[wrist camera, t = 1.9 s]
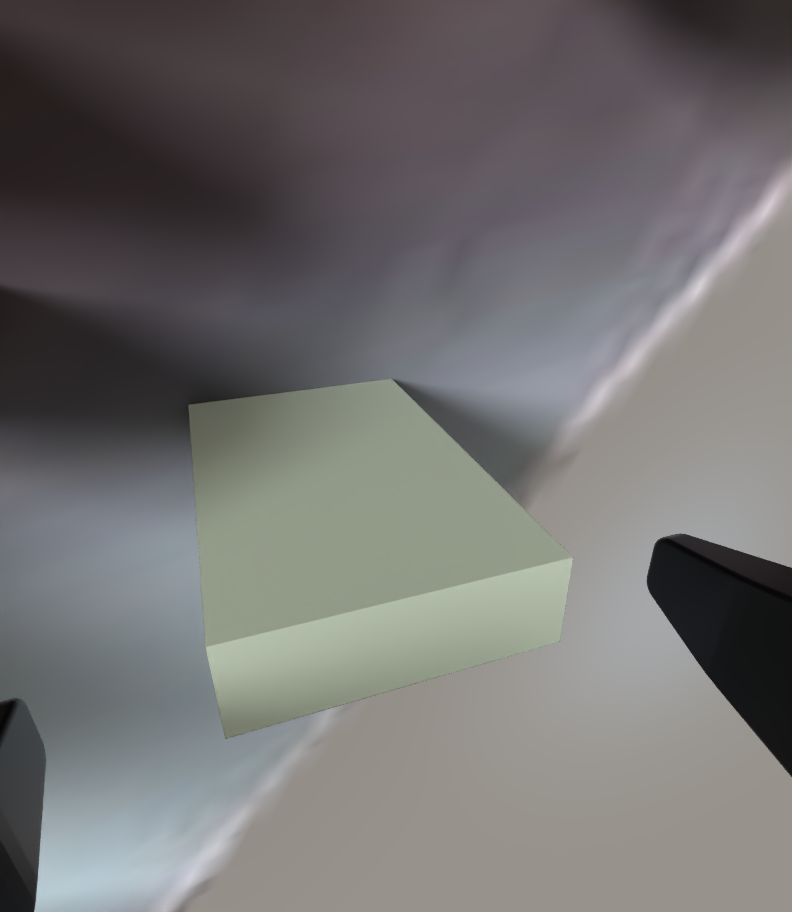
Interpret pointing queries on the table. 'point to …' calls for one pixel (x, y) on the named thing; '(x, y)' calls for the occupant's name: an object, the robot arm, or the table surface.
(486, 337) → the table surface
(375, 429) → the domino
